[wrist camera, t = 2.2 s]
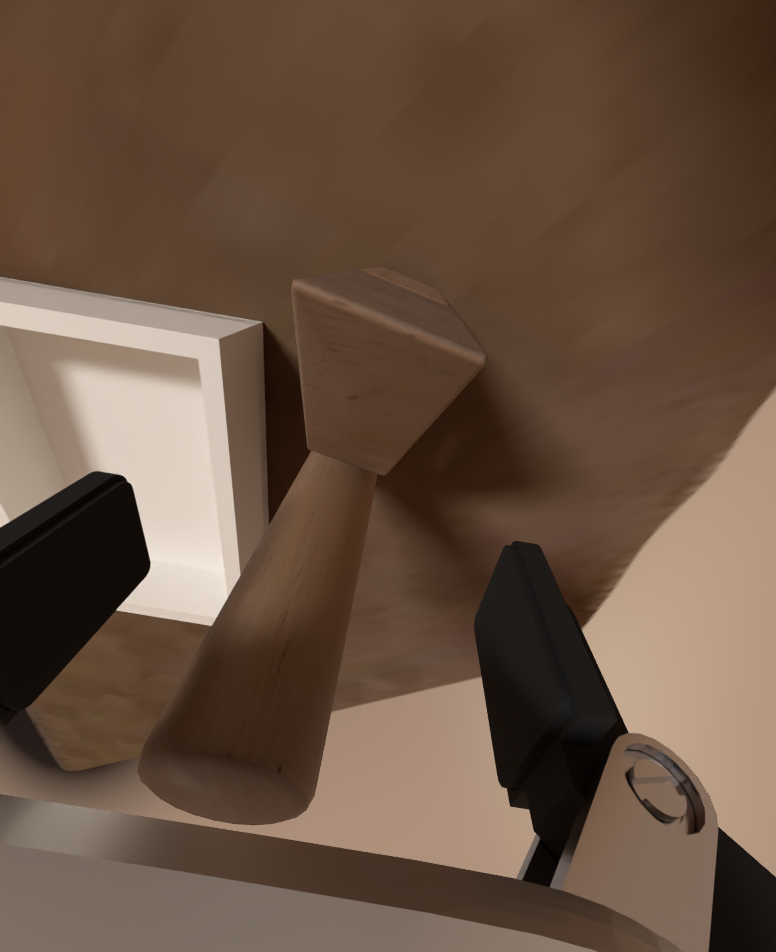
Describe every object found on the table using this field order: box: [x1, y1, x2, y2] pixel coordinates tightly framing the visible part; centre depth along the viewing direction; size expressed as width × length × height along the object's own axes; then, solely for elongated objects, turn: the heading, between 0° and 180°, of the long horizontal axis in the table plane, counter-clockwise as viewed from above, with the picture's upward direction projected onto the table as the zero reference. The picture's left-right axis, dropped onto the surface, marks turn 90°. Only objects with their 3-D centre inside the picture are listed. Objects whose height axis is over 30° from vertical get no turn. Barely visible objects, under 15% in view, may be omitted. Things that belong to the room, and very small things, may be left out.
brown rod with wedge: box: [137, 267, 487, 825], centre depth 13 cm, size 4×11×18 cm, turn 160°
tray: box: [0, 277, 269, 626], centre depth 23 cm, size 20×15×5 cm
